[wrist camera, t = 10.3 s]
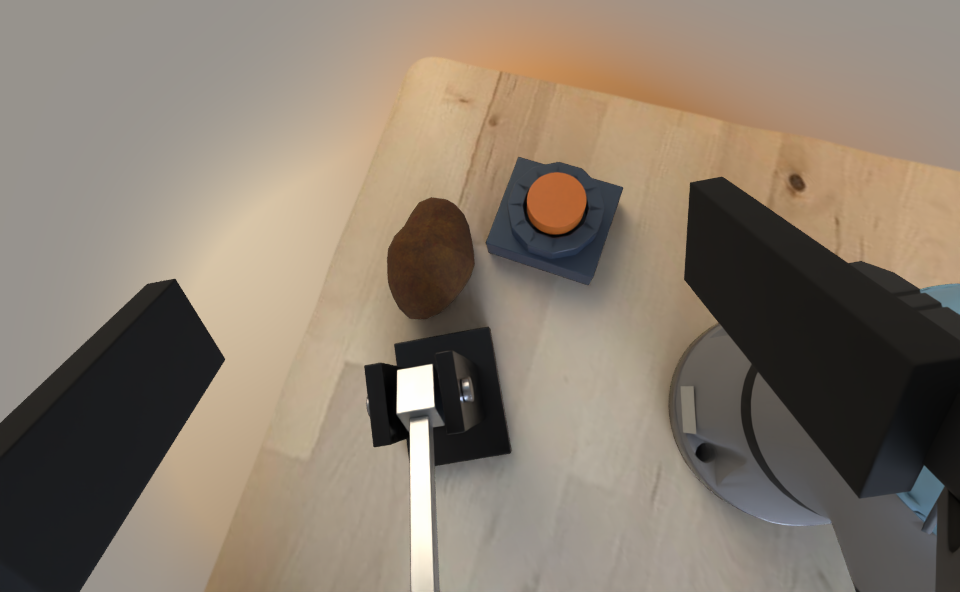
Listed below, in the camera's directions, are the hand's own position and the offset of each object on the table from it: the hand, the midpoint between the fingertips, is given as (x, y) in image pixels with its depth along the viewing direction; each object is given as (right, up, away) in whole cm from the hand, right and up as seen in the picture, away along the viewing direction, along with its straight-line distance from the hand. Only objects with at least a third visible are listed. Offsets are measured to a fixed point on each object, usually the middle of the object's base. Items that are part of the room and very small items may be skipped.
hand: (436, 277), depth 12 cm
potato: (-2, +2, +29) cm, 29 cm away
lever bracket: (-1, -9, +27) cm, 28 cm away
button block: (+7, +6, +29) cm, 30 cm away
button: (+7, +6, +25) cm, 27 cm away
